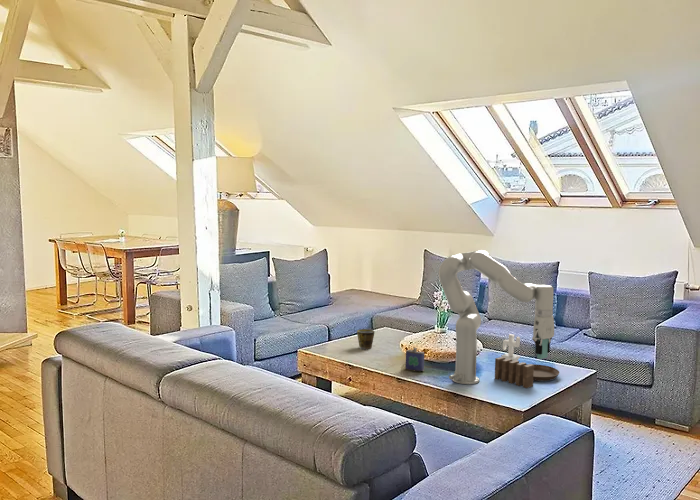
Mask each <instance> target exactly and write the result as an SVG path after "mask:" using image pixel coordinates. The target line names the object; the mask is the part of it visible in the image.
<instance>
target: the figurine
mask: <svg viewBox="0 0 700 500" xmlns="http://www.w3.org/2000/svg"><path fill="white" fill-rule="evenodd" d="M520 341H521V337H520V336H516V338H515V334H511V333H510V334H508V338H507V339H503V341H502V350H504V351H505V350H506V349H507V350H508V351H507V353H505V354H502V355H500V357H505V359H512V361H515V360H516V361H519V359H520V358H521V355H518V354H514V351H515V349H514V348H519V347H520V344H521V343H520ZM507 347H508V348H507Z"/></svg>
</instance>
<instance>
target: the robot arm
mask: <svg viewBox="0 0 700 500" xmlns="http://www.w3.org/2000/svg"><path fill="white" fill-rule="evenodd" d="M469 270H475V271H477V272H479V273H481V274H482V275H483V276H484V277H486V278H488V279H489V280H491V281H493V282H494V283H495V284H496V285H497V286H498V287H500V288H501V289H502V290H503V291H504V292H506V293H507V294H508V295H510V296H511V297H513V298H515V299H516V300H517V301H519V302H520V303H521V302H522V303H529V302H531V301H532V300H535V307H534V308H535V309H534V314H535V315H534V320H533V328H532V329H533V331H532V333H533V334H532V338H531V339H532V341H533V343H534V345H535V349H534V350H535V351H534V353H535V354H536V355H537V354H542V340H543V339H548V354H549V353H550V351H551V349H550V348H551V341H552V339H553V338H554V336H555V319H554V315H553V314H554V313H553V311H554V287H553V286H552V285H547V284H535V283H530V282H529V283H528V282H525V283H523V282H521V281H520V280H518V279H517V278H516V277H514V276H513V275H512V274H511V272H510V270H509V269H508V268H507V267H506V266H505V265H503V264H502V263H500V262H499V261H498V260H496V259H494V258H493V257H491V254H490V253H489V252H488V251H486V250H483V249H479V250H474V251H467V252H460V253H456V254H453V255H449V256H447V257H446V258H445V259H444V260H443V261H442V262H441V264H440V265H439V268H438V278H439V282H440V284H441V287H442V289H443V292H444V295H445V297H446V301H447V303H448V306H449V308H450V309H451V311H452V312H454V313H456V314H458V315H459V317H458V319H457V320H456V322H455V337H456V338H455V339H456V341H455V351H456V352H455V371H454V372H453V374H450V375H448V379H449V380H452V381H453V382H455V383H457V384H462V385H474V384H475V385H476V384H478V383H479V382H480V378H479V377H478V376H477V353H478V352H477V351H478V350H477V349H478V339H477V337H478V336H477V331H478V329H479V328H480V327H481V325H482V319H481V315H480V313H479V310H478V308H477V305H476V302H475V300H474V298H473V296H472V295H471V293H469V292H468V291H466V290H464V289H463V287H462V284H461V282H460V280H459V278H458V273H460V272H464V271H469ZM538 337H539V338H538ZM538 339H539V340H540V342H539V340H538Z"/></svg>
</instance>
